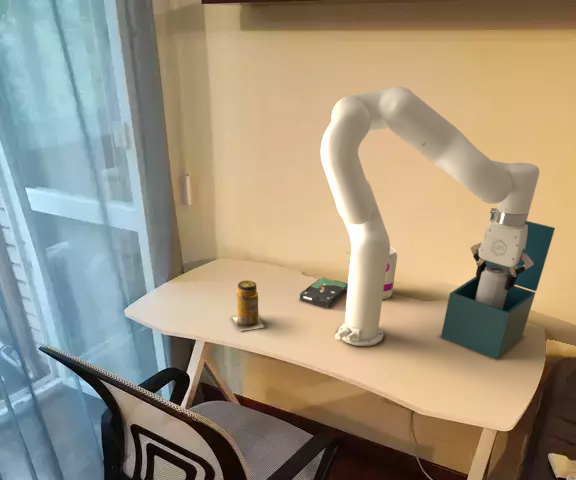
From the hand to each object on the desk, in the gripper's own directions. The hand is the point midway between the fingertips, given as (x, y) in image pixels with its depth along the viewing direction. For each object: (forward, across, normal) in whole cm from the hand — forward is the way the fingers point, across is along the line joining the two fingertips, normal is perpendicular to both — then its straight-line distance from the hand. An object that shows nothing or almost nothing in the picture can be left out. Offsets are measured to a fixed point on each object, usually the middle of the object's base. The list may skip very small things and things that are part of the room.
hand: (494, 283), depth 143 cm
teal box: (+17, 0, +1) cm, 17 cm away
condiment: (+17, -54, -39) cm, 68 cm away
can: (+8, 0, 0) cm, 8 cm away
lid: (-6, 0, +9) cm, 11 cm away
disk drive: (+17, -48, -10) cm, 52 cm away
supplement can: (+17, -36, +3) cm, 40 cm away
